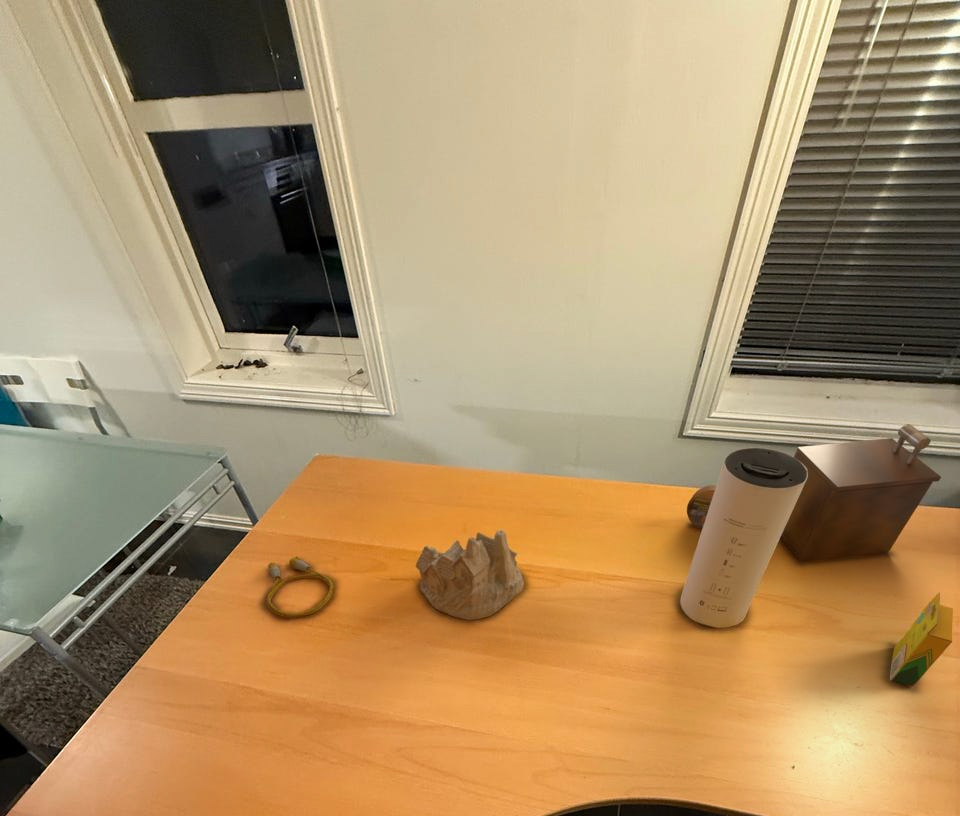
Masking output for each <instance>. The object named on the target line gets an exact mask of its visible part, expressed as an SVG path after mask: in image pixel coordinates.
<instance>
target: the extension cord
mask: <svg viewBox="0 0 960 816" xmlns="http://www.w3.org/2000/svg"><path fill="white" fill-rule="evenodd" d="M288 566H289V567H290V568H292V569H294V570H298V571H301V572H305V573H308V572H312V573H308V574H299V575H294V576H290V577H287V578H284V579H283V580H281V577H282V576H281V570H280V568H279V567H278V565H277V563H276V562H269V564H267V568H268V572H269V574H270V576H271V577H272V579H273V580H274V581H275V582H274V583H273V585H272V588H271V589H270V591H269V593H268V595H267V599H266V605H267V608H268V609H269V610H270V612H272V613H274V614H275V615H277V616H280V617H284V618H302V617H306V616H310V615H312V614H314V613H315V612H318V611H319V610H321V609H322V608H323V607H324V606H325V605H326V604H327V603H328V601H329V600H331V598H332V596H333V594H334V590H333V589H334V583H333V581H332V580H331V578H329V577H327V576H326V575H324V574H322V573H320V572H318V571H316V570H313V569H312V568H311V564H309V563H307V561H303V560H302V559H300V557H298V556H295V557H292V558H291V559H290V560H289V565H288ZM299 579H318V580H319V579H320V580H322V581H323V582H325V584H327V586H328V587H329V590H328V592H327V594H326V596H325V597H324V599H323V600H322V601H320V602H319V603H318V604H317V605H316V606H315V607H312V608H311V609H309V610H307V611H304V612H300V613H299V612H298V613H289V612H285V611H283V610H280V609H278V608H276V607H275V606H274V605H273V603H272V602H271V600H272V598H273V596H274V594H275V593H276V592H277V591H278V590H279V589H281V587H282V586H284V584H287V583H288V582H291V581H294V580H299ZM280 580H281V581H280ZM278 581H280V582H279V583H278Z"/></svg>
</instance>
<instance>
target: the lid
mask: <svg viewBox="0 0 960 816" xmlns="http://www.w3.org/2000/svg"><path fill="white" fill-rule="evenodd" d="M897 435H898V436H899V437H898V440H895V439H894V438H893V437H888V438H878V439H870V440H858V441H847V442H838V443H829V444H828V443H827V444H816V445H805V446H798V447H796V450H795V453H796V452H797V453H798V454H799V455H800V456H801V457H802V458H803V459H804V460H805V461H806V462H807V463H808V464H809V465H810V466H811V467H812V468H813V469H814V470H815V471H816V472H817V473H818V474H819V475H820V476H821V477H822V478H823V479H824V480H825V481H826V482H827V483H828V484H829V485H830V486H831V487H832V488H833V489H834V490H835V491H844V490H854V489H865V488H875V487H885V486H895V485H905V484H916V483H926V482H933V483H934V482H935V483H936V482H939V481H940V480H941V478H942V476H941V475H940V474H939V473H937V472H936V471H935V470H933V469H932V468H931V467H930V466H928V465H927V464H926V463H924V462H923V461H922V460H921V459H920V458H918V457H919V454H920V453H921V451H922V450H924V449H927V447H928V446H929V445H930V444H931V438H930V437H928V436H927V435H926V434H924V433H922V432H921V430H920V429H919V430H918V429H917V428H916V427H915V426H913V425H912V424H910V423H906V424H904V425H902V426H901V427H900V428H899V429H898V431H897ZM905 442H907V443H908V444H910V445H911V446H912V447H913V448H914V449H913V450H912V452H910V450H908V449H907V448H905V447H904V446H903V445H904V443H905Z"/></svg>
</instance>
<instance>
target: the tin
mask: <svg viewBox="0 0 960 816" xmlns="http://www.w3.org/2000/svg"><path fill="white" fill-rule="evenodd" d="M716 485H717V484H710V485H709V484H708V485H706V486H703V487H701V488H699V489H697V490H696V492H694V494H693V495H692V496H691V498H690V500H689V501H688V503H687V507H686V514H687V518H688V520H689V522H690V523H691V524H692V525H693V526H694V527H695V528H698V529H701V530H702V529H703V526H704V523H705V520H706V517H707V513H708V510H709V507H710V504H711V501H712V498H713V495H714V491H715V488H716Z"/></svg>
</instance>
